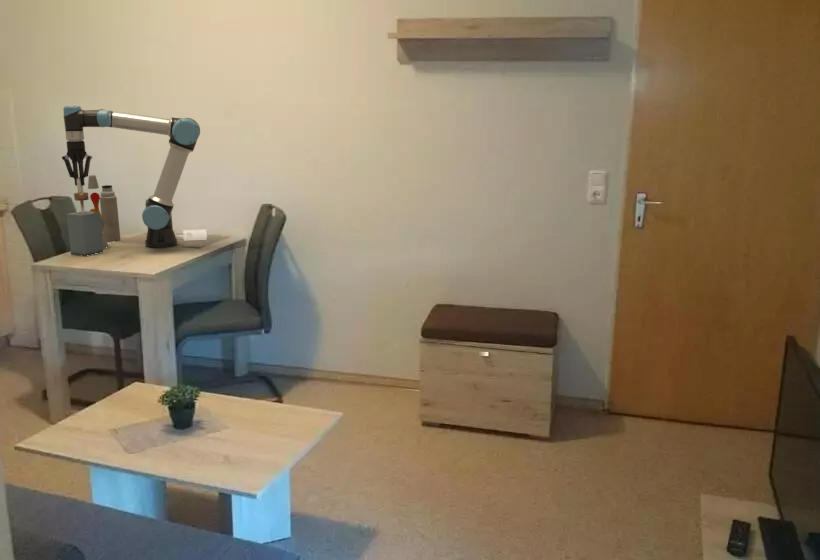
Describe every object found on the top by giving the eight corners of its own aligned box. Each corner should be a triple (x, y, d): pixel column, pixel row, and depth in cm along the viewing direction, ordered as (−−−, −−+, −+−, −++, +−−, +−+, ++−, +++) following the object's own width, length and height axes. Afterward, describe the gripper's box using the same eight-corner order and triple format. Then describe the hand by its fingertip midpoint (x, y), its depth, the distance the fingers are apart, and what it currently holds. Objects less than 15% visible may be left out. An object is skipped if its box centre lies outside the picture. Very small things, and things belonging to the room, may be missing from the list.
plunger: (98, 238, 361) (93, 192, 356) (84, 241, 354) (79, 194, 349) (86, 237, 364) (82, 191, 359) (73, 239, 358) (68, 193, 352)
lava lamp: (113, 246, 378) (106, 174, 370) (102, 249, 369) (95, 176, 361) (96, 245, 380) (88, 174, 372) (85, 249, 371) (77, 176, 363)
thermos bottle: (108, 238, 397) (103, 184, 391) (123, 239, 396) (118, 184, 390) (100, 241, 389) (95, 186, 383) (116, 242, 389) (110, 186, 382)
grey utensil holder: (103, 252, 363) (99, 212, 358) (85, 256, 354) (81, 215, 350) (88, 250, 367) (84, 211, 363) (70, 254, 359) (66, 213, 354)
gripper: (57, 141, 345) (63, 193, 350) (87, 141, 345) (92, 193, 351) (63, 140, 352) (69, 191, 357) (92, 140, 352) (97, 191, 358)
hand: (80, 192), depth 354 cm, fingers closed
